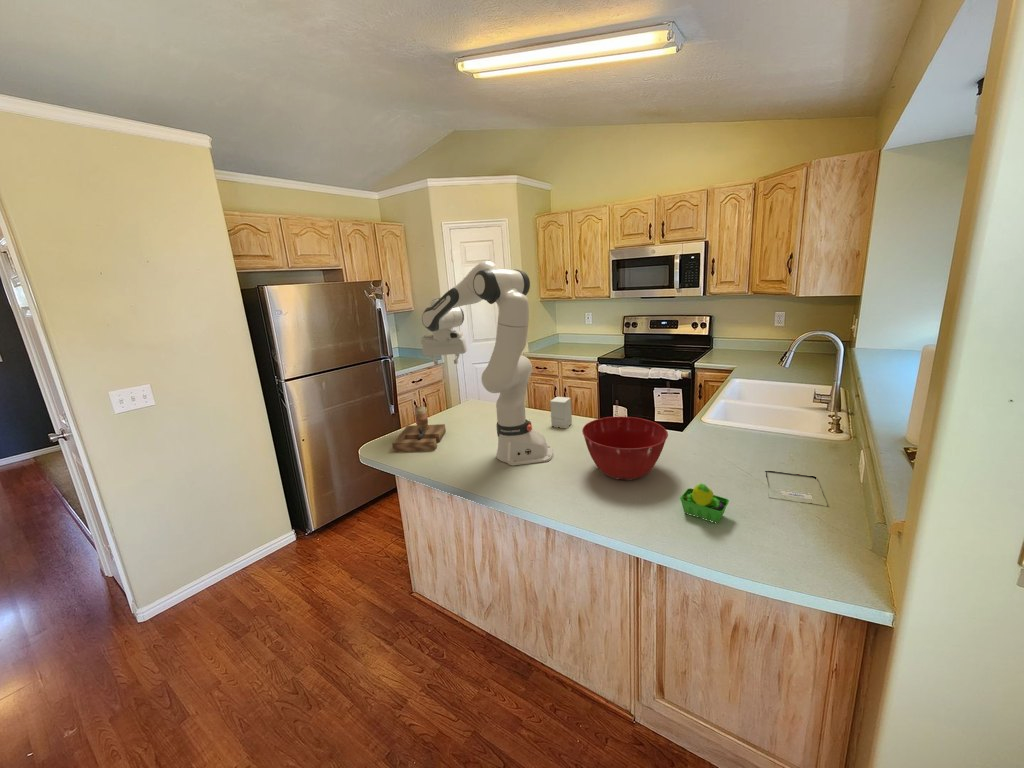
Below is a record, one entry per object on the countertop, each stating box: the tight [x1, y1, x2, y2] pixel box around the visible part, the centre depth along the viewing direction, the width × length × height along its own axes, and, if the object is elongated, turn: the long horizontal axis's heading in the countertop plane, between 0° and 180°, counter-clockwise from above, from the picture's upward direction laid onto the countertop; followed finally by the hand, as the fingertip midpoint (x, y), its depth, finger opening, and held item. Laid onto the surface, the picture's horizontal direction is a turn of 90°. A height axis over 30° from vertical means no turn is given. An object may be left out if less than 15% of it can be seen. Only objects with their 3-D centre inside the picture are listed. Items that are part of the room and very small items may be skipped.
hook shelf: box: [391, 423, 446, 453], centre depth 186 cm, size 18×20×8 cm
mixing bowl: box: [581, 416, 669, 480], centre depth 146 cm, size 28×28×15 cm
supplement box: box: [549, 396, 573, 429], centre depth 193 cm, size 7×7×13 cm
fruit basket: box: [679, 483, 730, 524], centre depth 119 cm, size 11×9×11 cm
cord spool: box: [414, 406, 429, 431], centre depth 190 cm, size 5×5×10 cm
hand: (446, 364), depth 195 cm, fingers open, 8 cm apart
